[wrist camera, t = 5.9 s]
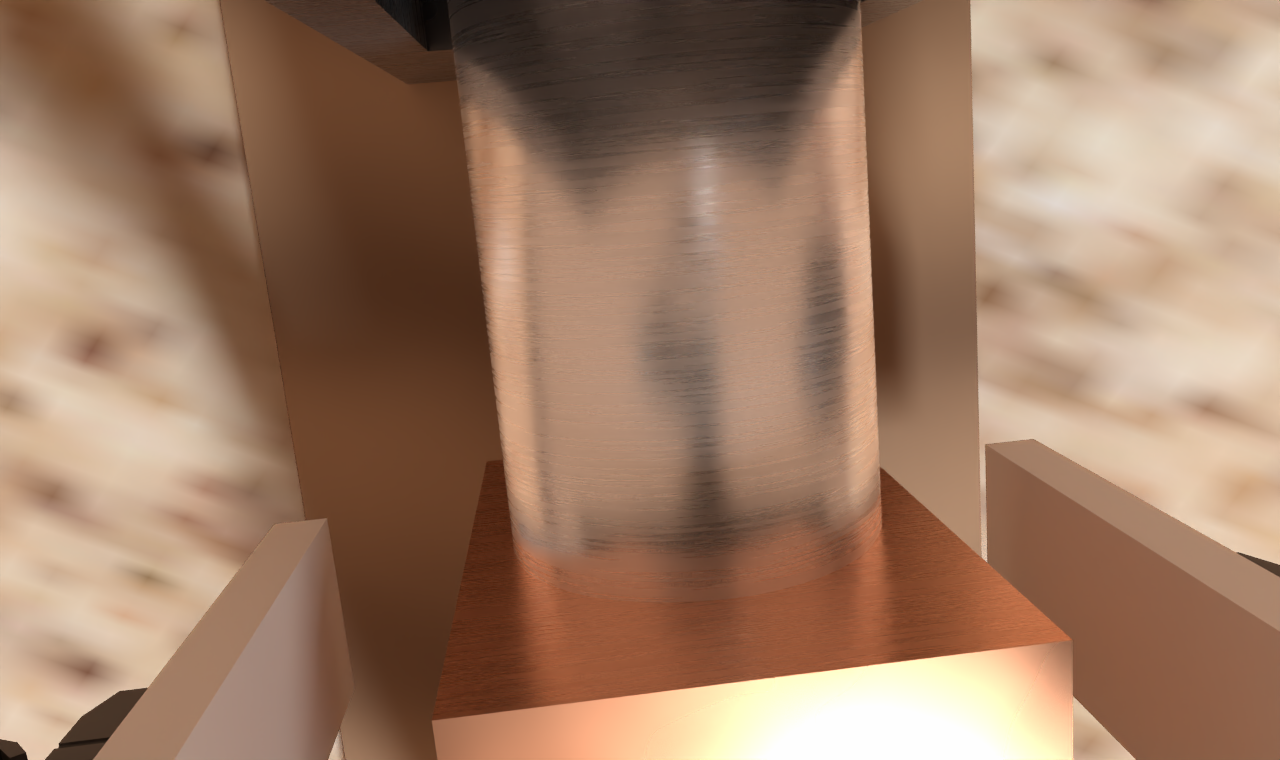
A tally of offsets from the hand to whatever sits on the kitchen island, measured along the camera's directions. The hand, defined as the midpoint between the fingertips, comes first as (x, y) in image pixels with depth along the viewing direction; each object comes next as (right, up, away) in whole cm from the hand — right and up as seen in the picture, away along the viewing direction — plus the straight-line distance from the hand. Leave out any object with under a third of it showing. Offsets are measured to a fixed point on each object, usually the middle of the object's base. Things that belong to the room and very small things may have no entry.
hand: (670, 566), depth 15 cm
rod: (0, +2, -1) cm, 2 cm away
